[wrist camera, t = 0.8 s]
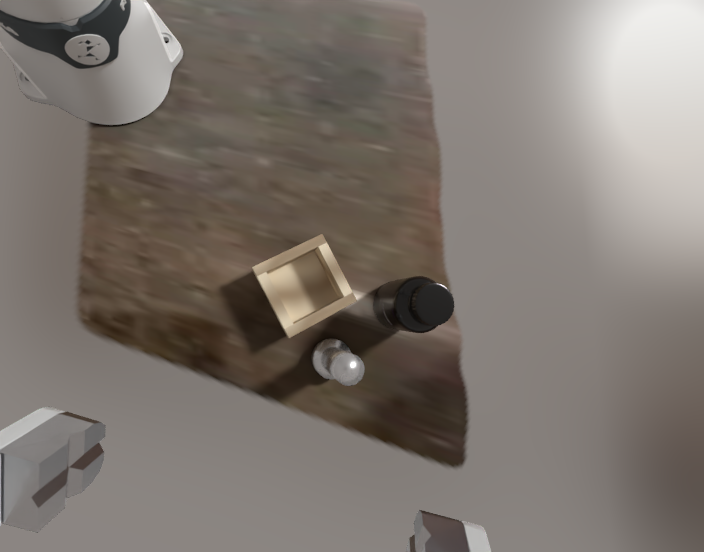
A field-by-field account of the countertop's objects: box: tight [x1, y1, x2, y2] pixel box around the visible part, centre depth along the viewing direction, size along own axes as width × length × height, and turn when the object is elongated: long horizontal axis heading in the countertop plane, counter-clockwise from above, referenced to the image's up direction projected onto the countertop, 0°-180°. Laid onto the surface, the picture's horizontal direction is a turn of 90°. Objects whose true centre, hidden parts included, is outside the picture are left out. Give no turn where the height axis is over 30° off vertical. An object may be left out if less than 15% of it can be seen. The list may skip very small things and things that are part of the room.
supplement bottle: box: [374, 276, 454, 333], centre depth 45 cm, size 7×7×12 cm
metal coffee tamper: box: [311, 338, 364, 386], centre depth 42 cm, size 5×5×11 cm
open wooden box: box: [252, 234, 357, 338], centre depth 46 cm, size 9×9×4 cm
